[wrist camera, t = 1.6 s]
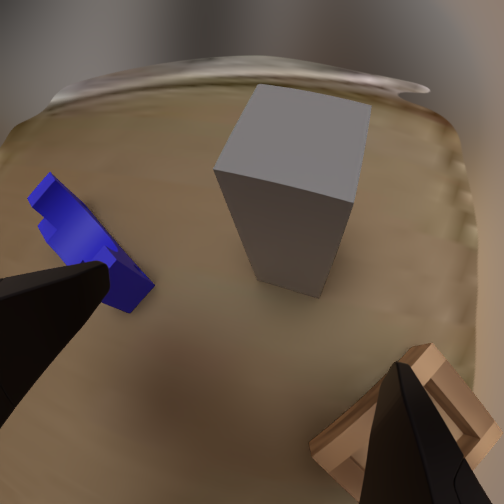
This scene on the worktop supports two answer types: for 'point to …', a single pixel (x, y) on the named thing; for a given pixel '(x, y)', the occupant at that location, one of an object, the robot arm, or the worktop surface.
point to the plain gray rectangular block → (293, 181)
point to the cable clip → (87, 242)
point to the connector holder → (444, 398)
